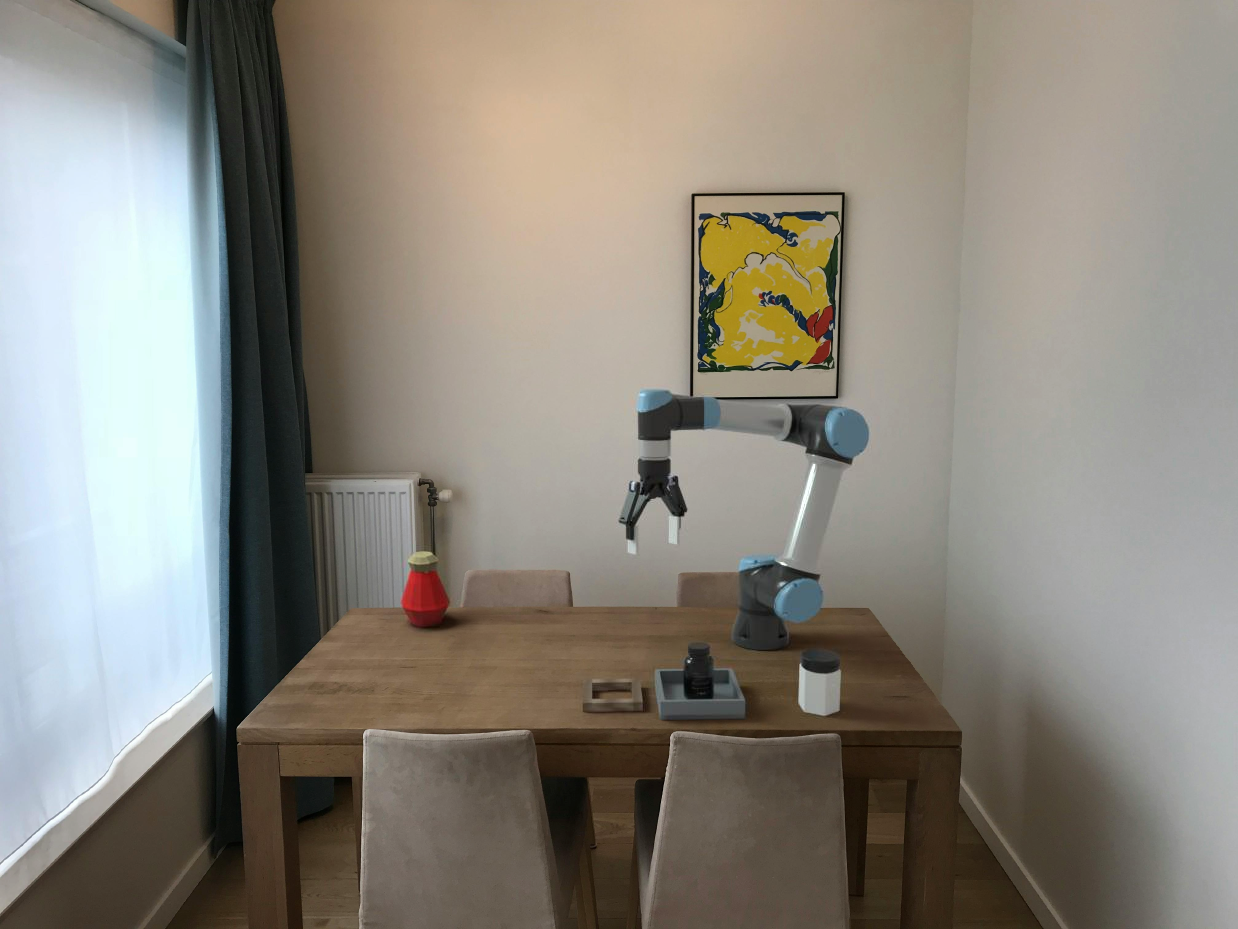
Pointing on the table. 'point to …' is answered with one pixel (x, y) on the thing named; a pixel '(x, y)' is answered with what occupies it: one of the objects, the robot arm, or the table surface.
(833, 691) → the jar
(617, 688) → the socket collar
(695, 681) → the supplement bottle
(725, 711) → the bin
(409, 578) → the bottle
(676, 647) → the table surface
